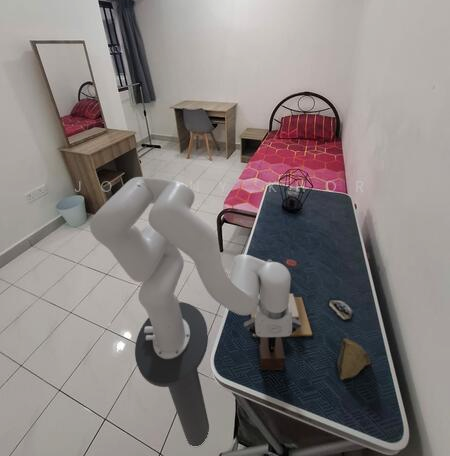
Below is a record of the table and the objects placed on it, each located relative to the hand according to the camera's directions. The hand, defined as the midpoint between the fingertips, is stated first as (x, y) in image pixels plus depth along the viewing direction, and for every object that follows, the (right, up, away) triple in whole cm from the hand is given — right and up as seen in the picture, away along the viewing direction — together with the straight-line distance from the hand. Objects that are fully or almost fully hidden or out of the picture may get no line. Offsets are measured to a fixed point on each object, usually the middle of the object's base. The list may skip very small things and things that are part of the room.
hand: (271, 338), depth 72 cm
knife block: (0, -9, +5) cm, 10 cm away
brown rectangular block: (+10, -2, +15) cm, 18 cm away
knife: (0, -8, +4) cm, 9 cm away
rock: (+25, -10, +1) cm, 27 cm away
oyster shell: (+29, -2, +16) cm, 33 cm away
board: (+6, -4, +15) cm, 17 cm away
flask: (+7, +3, +28) cm, 29 cm away
